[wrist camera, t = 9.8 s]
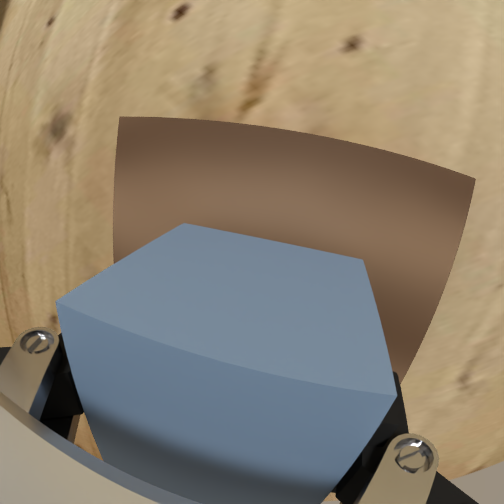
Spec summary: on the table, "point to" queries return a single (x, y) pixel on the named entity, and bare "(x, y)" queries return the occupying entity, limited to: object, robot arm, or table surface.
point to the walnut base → (299, 205)
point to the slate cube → (230, 366)
